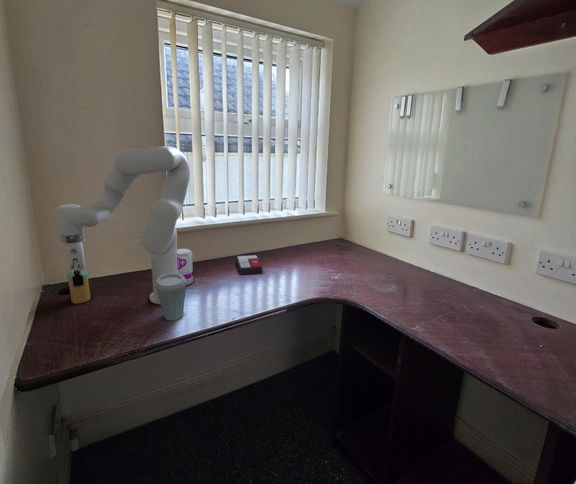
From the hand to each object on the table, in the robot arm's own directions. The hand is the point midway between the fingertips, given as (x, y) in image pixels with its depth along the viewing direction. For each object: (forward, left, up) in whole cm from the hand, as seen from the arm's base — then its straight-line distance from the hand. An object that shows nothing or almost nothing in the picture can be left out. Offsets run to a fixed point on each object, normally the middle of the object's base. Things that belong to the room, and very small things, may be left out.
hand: (78, 281), depth 122 cm
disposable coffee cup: (-35, -20, -8) cm, 41 cm away
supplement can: (-12, -37, -8) cm, 40 cm away
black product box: (-18, -70, -8) cm, 73 cm away
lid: (0, 0, +3) cm, 3 cm away
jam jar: (0, 0, -8) cm, 8 cm away
